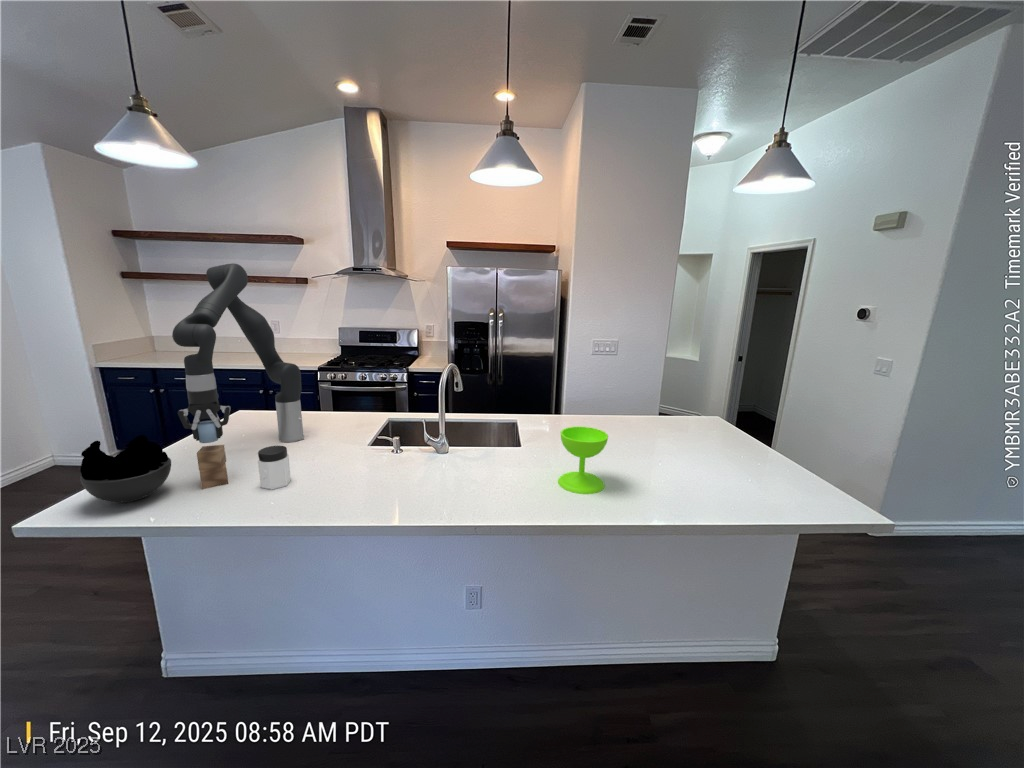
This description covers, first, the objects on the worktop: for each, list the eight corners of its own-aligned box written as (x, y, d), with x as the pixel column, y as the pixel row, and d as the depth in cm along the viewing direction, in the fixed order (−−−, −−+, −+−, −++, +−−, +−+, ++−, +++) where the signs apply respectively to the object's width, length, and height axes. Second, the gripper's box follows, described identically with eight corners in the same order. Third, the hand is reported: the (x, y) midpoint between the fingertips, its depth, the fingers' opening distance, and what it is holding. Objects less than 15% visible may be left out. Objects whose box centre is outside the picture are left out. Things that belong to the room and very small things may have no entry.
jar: (254, 487, 134) (250, 452, 132) (275, 476, 142) (272, 443, 139) (276, 491, 132) (272, 456, 129) (296, 480, 139) (293, 447, 137)
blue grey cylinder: (219, 437, 137) (217, 419, 135) (217, 441, 132) (214, 424, 131) (201, 439, 134) (198, 421, 133) (197, 444, 130) (195, 425, 129)
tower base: (227, 476, 141) (225, 460, 140) (228, 484, 136) (226, 467, 135) (201, 481, 137) (199, 464, 136) (202, 489, 132) (199, 472, 130)
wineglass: (567, 470, 154) (569, 423, 150) (609, 479, 146) (613, 431, 143) (550, 486, 140) (553, 436, 136) (596, 498, 133) (600, 445, 129)
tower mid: (226, 461, 139) (224, 444, 138) (221, 468, 134) (219, 450, 132) (204, 463, 137) (202, 446, 136) (199, 470, 132) (196, 452, 130)
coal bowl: (192, 487, 133) (183, 432, 129) (123, 520, 113) (110, 456, 109) (142, 480, 137) (132, 426, 132) (67, 510, 117) (53, 448, 113)
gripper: (230, 383, 136) (236, 432, 140) (176, 386, 130) (184, 438, 133) (227, 388, 130) (233, 439, 133) (169, 392, 123) (178, 445, 127)
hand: (208, 438), depth 133 cm, fingers closed on blue grey cylinder, 5 cm apart
